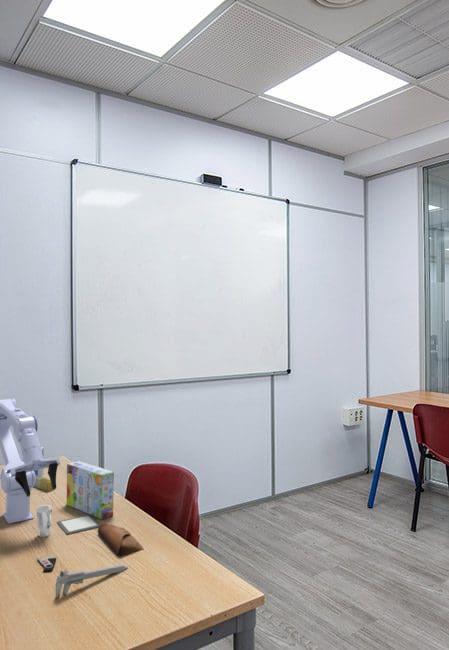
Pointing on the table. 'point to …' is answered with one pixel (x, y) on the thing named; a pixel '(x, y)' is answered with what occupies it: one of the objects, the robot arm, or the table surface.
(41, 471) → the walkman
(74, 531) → the mat
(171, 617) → the table surface
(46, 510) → the milkshake
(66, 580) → the caliper
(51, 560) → the usb flash drive
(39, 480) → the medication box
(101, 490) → the snack box
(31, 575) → the table surface
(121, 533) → the sunglasses case
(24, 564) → the table surface
